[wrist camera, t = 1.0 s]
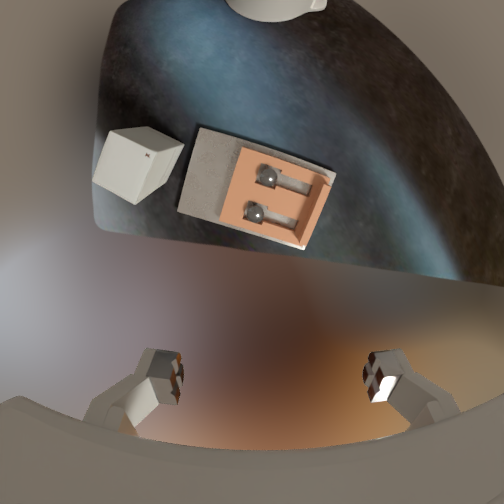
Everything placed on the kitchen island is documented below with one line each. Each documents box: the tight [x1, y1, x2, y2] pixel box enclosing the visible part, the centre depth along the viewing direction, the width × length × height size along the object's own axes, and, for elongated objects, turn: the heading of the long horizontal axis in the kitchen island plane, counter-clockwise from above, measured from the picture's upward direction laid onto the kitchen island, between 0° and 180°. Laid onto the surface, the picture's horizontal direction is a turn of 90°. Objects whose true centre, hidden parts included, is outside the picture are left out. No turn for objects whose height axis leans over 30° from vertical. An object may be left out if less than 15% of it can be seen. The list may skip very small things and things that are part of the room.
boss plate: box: [177, 128, 336, 250], centre depth 42 cm, size 14×22×3 cm, turn 72°
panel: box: [219, 147, 331, 247], centre depth 41 cm, size 12×14×3 cm
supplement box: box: [92, 127, 184, 205], centre depth 35 cm, size 7×7×13 cm
